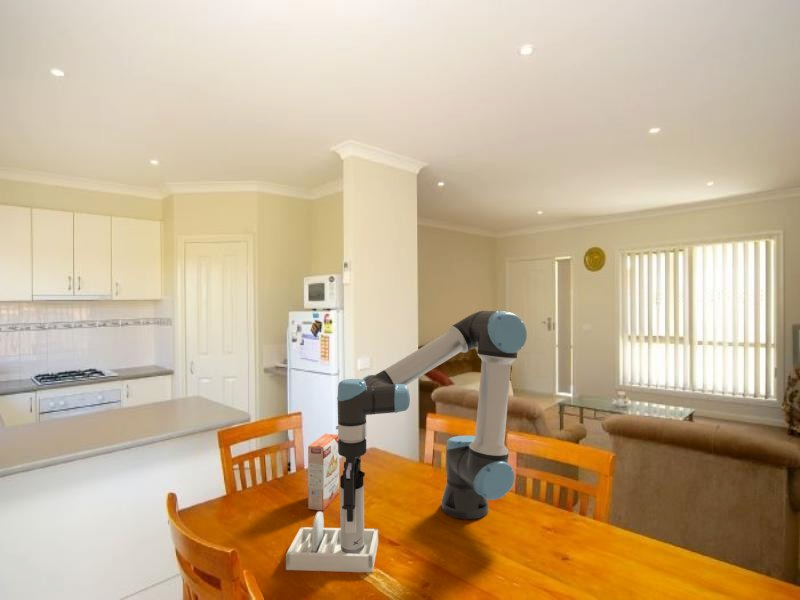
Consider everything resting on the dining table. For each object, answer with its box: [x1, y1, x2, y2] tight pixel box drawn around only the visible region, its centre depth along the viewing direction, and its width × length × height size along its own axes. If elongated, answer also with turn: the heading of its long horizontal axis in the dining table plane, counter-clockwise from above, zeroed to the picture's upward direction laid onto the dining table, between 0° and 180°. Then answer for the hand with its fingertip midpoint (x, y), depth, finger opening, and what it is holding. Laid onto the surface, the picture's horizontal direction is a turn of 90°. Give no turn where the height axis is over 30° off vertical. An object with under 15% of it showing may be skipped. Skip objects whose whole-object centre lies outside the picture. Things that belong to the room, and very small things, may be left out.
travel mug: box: [339, 470, 366, 554], centre depth 116 cm, size 6×7×20 cm
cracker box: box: [307, 433, 340, 512], centre depth 147 cm, size 14×6×21 cm, turn 166°
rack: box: [285, 511, 379, 573], centre depth 116 cm, size 22×13×11 cm, turn 87°
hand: (353, 525), depth 116 cm, fingers closed on travel mug, 6 cm apart
